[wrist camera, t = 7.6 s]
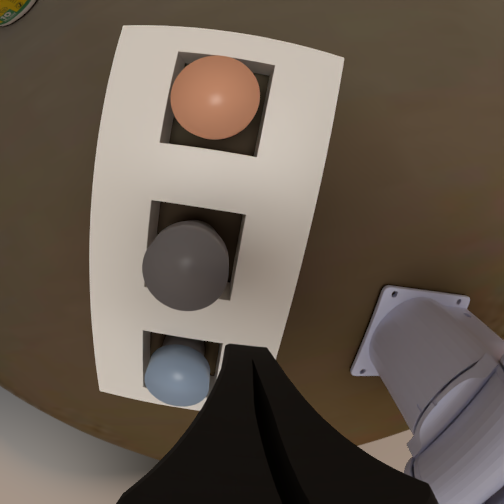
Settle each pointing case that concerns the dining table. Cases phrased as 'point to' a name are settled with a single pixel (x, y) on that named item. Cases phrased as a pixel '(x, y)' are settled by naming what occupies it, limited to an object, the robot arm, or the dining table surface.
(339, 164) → the dining table surface
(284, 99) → the button panel
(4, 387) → the dining table surface
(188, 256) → the charcoal button
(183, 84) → the terracotta button
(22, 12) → the supplement bottle
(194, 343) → the slate blue button
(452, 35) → the dining table surface
